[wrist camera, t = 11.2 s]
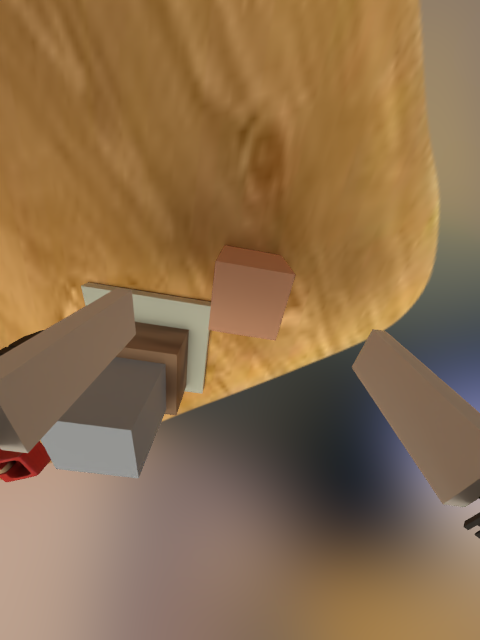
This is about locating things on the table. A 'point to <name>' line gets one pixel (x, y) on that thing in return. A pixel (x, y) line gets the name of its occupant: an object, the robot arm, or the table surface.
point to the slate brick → (111, 421)
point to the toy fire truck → (23, 463)
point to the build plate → (170, 323)
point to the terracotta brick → (249, 292)
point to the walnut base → (162, 357)
